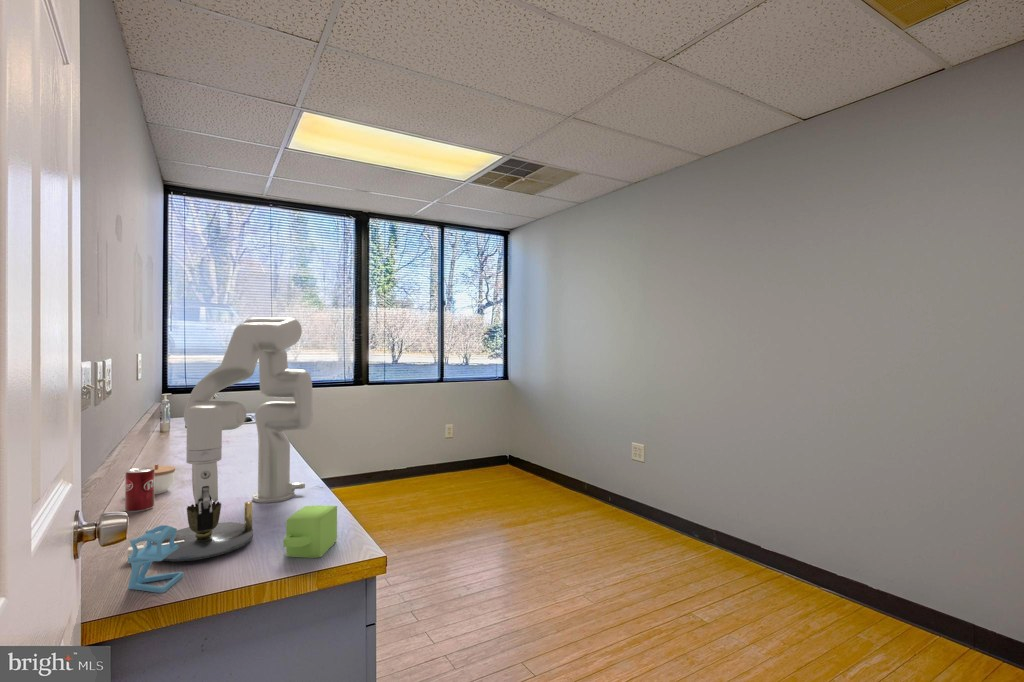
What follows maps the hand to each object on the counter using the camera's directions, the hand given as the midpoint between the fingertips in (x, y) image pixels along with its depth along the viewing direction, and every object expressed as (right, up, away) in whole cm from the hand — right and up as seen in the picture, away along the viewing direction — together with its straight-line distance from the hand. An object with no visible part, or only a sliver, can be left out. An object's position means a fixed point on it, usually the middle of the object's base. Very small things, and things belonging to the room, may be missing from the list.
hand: (203, 523), depth 127 cm
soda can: (-37, -6, +29) cm, 48 cm away
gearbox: (+27, -6, 0) cm, 27 cm away
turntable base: (-3, -6, -2) cm, 7 cm away
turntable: (0, -5, 0) cm, 5 cm away
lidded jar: (-45, -6, +47) cm, 65 cm away
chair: (+1, -6, -20) cm, 21 cm away
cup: (0, -4, 0) cm, 4 cm away
